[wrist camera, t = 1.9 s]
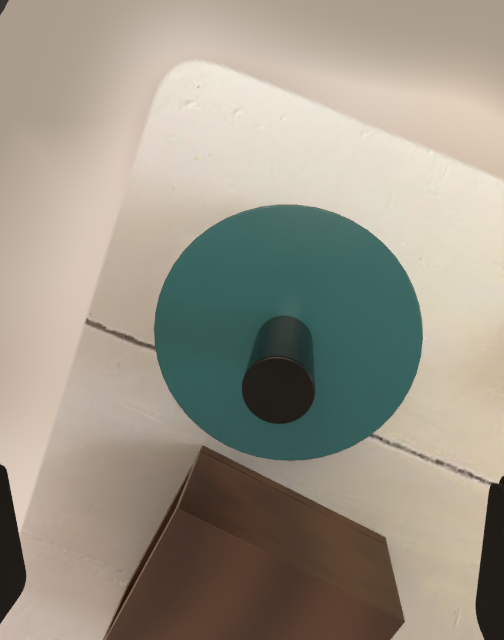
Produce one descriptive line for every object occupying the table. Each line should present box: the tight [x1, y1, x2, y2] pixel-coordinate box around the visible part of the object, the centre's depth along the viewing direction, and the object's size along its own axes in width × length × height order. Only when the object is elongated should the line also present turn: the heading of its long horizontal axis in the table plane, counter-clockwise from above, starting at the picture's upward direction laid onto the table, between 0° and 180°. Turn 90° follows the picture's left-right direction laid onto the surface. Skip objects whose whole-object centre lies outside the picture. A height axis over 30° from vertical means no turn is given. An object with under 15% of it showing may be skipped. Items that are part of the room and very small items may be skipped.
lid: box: [154, 205, 423, 461], centre depth 20 cm, size 12×12×7 cm
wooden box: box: [103, 446, 405, 640], centre depth 33 cm, size 15×15×7 cm
